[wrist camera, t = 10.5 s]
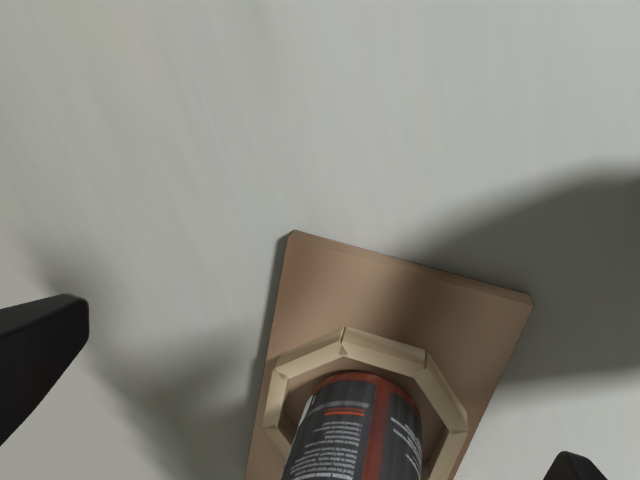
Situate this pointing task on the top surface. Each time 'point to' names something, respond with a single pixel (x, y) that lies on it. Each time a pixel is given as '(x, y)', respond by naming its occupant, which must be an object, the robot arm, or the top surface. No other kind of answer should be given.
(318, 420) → the supplement bottle
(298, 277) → the wooden board with rim
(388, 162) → the top surface
